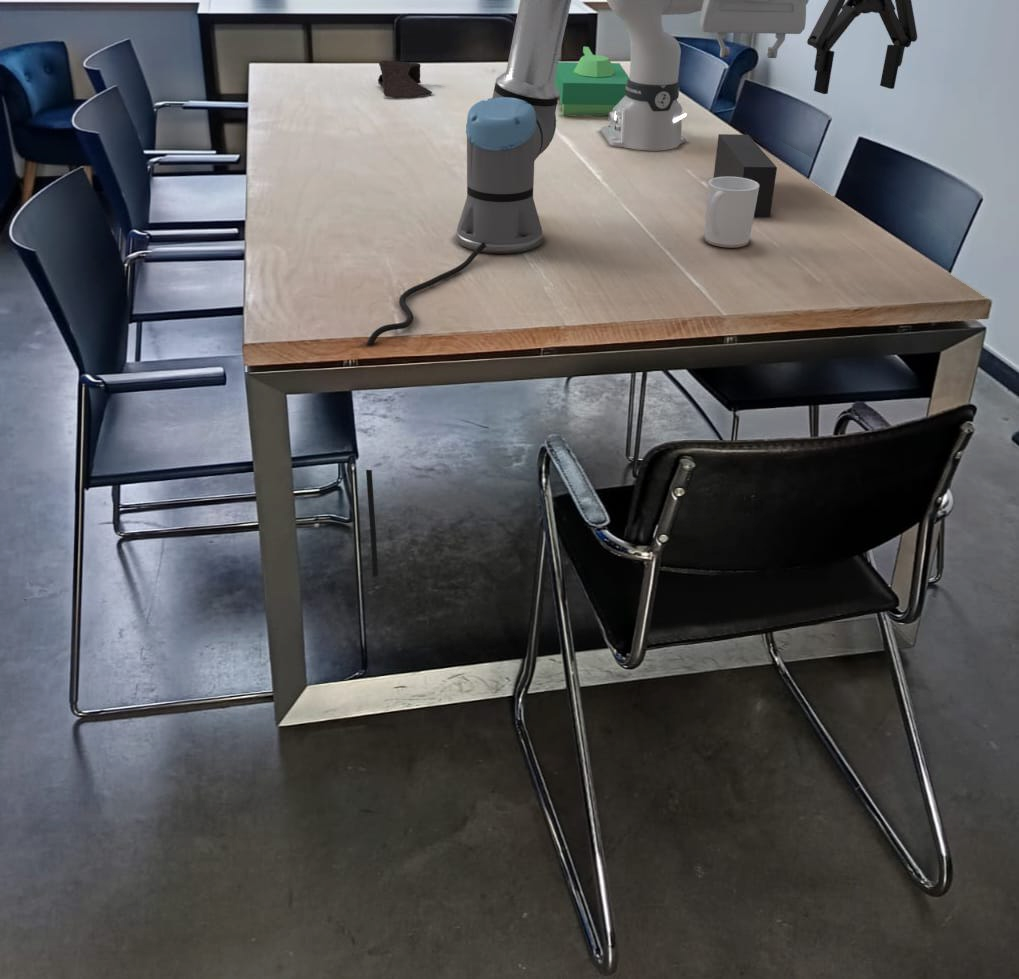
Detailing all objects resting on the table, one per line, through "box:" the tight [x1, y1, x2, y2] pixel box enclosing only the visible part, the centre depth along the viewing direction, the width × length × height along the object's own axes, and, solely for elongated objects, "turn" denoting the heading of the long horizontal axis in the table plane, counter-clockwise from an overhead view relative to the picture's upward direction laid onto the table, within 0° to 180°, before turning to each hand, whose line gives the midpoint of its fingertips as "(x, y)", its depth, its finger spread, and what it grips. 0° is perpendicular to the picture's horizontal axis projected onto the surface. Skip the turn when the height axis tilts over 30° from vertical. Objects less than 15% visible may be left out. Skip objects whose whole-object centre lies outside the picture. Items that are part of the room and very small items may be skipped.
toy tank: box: [554, 46, 630, 117], centre depth 288 cm, size 18×12×35 cm
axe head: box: [377, 59, 433, 99], centre depth 299 cm, size 18×8×15 cm
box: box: [712, 133, 778, 218], centre depth 219 cm, size 25×6×10 cm, turn 2°
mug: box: [703, 177, 759, 249], centre depth 194 cm, size 11×9×10 cm
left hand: (854, 89), depth 182 cm, fingers open, 13 cm apart
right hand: (747, 57), depth 215 cm, fingers open, 8 cm apart
